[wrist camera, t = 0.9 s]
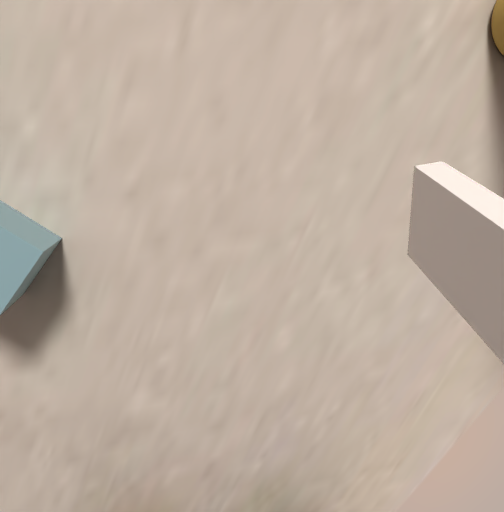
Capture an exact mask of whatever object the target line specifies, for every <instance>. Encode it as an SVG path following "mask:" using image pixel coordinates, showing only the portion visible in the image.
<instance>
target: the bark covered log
mask: <svg viewBox="0 0 504 512" xmlns="http://www.w3.org/2000/svg"><path fill="white" fill-rule="evenodd" d="M491 28H492V35H493V39H494V42H495V44H496V46H497V48H498V50H499V51H500V52H501V54H502V55H503V56H504V0H497V1H496V3H495V6H494V9H493V13H492V21H491Z"/></svg>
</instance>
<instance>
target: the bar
mask: <svg viewBox="0 0 504 512" xmlns="http://www.w3.org/2000/svg"><path fill="white" fill-rule="evenodd" d="M61 239H62V238H61V237H59V236H58V235H56V234H54V233H53V232H51V231H49V230H48V229H46V228H45V227H43V226H41V225H40V224H38V223H36V222H35V221H33V220H32V219H30V218H28V217H27V216H25V215H23V214H22V213H20V212H19V211H17V210H15V209H14V208H12V207H10V206H9V205H7V204H6V203H4V202H2V201H1V200H0V315H1V314H2V313H3V312H4V311H6V310H7V309H8V308H9V307H10V306H11V305H12V304H13V303H14V302H15V301H16V300H18V299H19V298H20V297H21V296H22V295H23V294H24V293H25V291H26V290H27V288H28V287H29V285H30V284H31V283H32V281H33V280H34V278H35V277H36V275H37V274H38V272H39V271H40V269H41V268H42V267H43V265H44V264H45V262H46V261H47V259H48V258H49V256H50V255H51V253H52V252H53V251H54V249H55V248H56V246H57V245H58V243H59V242H60V240H61Z"/></svg>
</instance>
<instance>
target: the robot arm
mask: <svg viewBox="0 0 504 512" xmlns="http://www.w3.org/2000/svg"><path fill="white" fill-rule="evenodd" d="M408 256H409V257H410V258H411V259H412V260H413V261H414V262H415V264H416V265H417V266H418V267H419V268H420V269H421V270H422V272H423V273H424V274H425V275H426V276H427V277H428V278H429V280H430V281H431V282H432V283H433V284H434V285H435V286H436V287H437V289H438V290H439V291H440V292H441V293H442V294H443V295H444V297H445V298H446V299H447V300H448V301H449V302H450V303H451V305H452V306H453V307H454V308H455V309H456V310H457V311H458V312H459V314H460V315H461V316H462V317H463V318H464V319H465V320H466V322H467V323H468V324H469V325H470V326H471V327H472V328H473V330H474V331H475V332H476V333H477V334H478V335H479V336H480V338H481V339H482V340H483V341H484V342H485V343H486V344H487V345H488V347H489V348H490V349H491V350H492V351H493V352H494V353H495V355H496V356H497V357H498V358H499V359H500V360H501V361H502V363H503V364H504V199H503V198H502V197H500V196H498V195H497V194H495V193H493V192H492V191H490V190H488V189H487V188H485V187H484V186H482V185H480V184H479V183H477V182H475V181H474V180H472V179H470V178H469V177H467V176H466V175H464V174H462V173H461V172H459V171H457V170H456V169H454V168H452V167H451V166H449V165H448V164H446V163H444V162H443V161H441V162H435V163H429V164H423V165H417V166H414V176H413V189H412V203H411V216H410V229H409V243H408Z"/></svg>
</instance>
